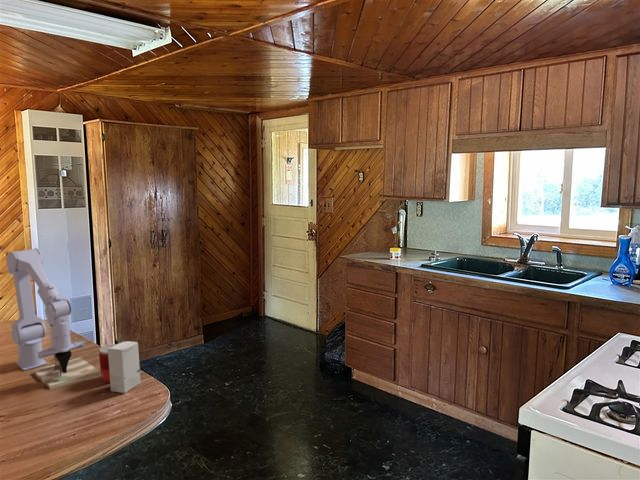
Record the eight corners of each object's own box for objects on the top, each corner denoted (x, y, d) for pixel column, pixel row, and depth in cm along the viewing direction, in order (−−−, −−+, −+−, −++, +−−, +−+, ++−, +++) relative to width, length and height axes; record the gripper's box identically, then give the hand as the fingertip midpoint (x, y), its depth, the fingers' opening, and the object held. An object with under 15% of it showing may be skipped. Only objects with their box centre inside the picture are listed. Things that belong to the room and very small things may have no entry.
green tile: (49, 382, 157) (49, 382, 157) (50, 378, 160) (50, 378, 160) (66, 379, 159) (66, 379, 159) (67, 376, 162) (67, 375, 162)
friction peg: (56, 364, 171) (54, 351, 170) (68, 362, 173) (67, 349, 172) (49, 381, 157) (48, 367, 156) (62, 379, 159) (61, 365, 158)
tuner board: (33, 373, 167) (33, 370, 167) (80, 360, 179) (80, 357, 178) (50, 389, 155) (49, 385, 155) (99, 374, 166) (99, 370, 166)
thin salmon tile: (83, 373, 164) (83, 373, 164) (79, 372, 165) (79, 372, 165) (90, 370, 167) (90, 369, 167) (86, 369, 168) (86, 369, 168)
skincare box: (124, 394, 151) (121, 350, 149) (109, 391, 153) (106, 348, 151) (141, 382, 159) (139, 341, 157) (127, 380, 161) (124, 339, 159)
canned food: (116, 384, 159) (114, 353, 157) (96, 382, 160) (93, 351, 159) (130, 374, 166) (128, 345, 164) (110, 372, 168) (108, 343, 166)
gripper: (40, 343, 152) (44, 382, 154) (87, 332, 163) (90, 368, 165) (34, 338, 157) (38, 376, 159) (79, 327, 168) (82, 363, 170)
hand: (64, 372), depth 162 cm, fingers closed
